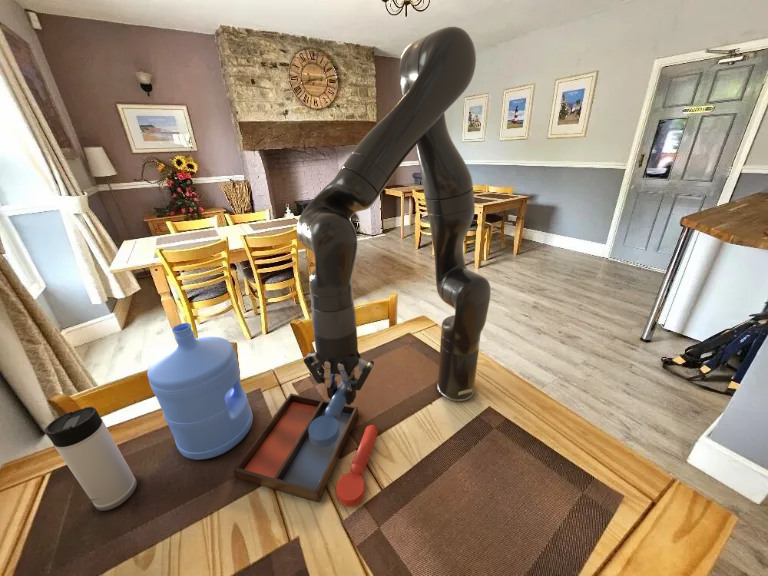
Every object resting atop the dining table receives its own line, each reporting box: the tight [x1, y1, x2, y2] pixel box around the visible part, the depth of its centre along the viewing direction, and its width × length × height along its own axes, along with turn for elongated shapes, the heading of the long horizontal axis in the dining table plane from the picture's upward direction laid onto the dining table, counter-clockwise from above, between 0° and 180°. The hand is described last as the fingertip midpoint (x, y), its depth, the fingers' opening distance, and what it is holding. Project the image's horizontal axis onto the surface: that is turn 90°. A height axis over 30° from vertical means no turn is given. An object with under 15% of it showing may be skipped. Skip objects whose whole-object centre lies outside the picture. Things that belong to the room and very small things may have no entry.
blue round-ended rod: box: [308, 375, 357, 447], centre depth 59 cm, size 17×5×3 cm, turn 165°
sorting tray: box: [232, 393, 359, 503], centre depth 67 cm, size 21×18×3 cm
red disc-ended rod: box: [335, 424, 379, 508], centre depth 63 cm, size 17×5×3 cm, turn 164°
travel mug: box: [44, 406, 138, 512], centre depth 55 cm, size 6×7×20 cm
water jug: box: [146, 322, 254, 461], centre depth 66 cm, size 16×16×28 cm
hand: (342, 399), depth 61 cm, fingers closed on blue round-ended rod, 2 cm apart
